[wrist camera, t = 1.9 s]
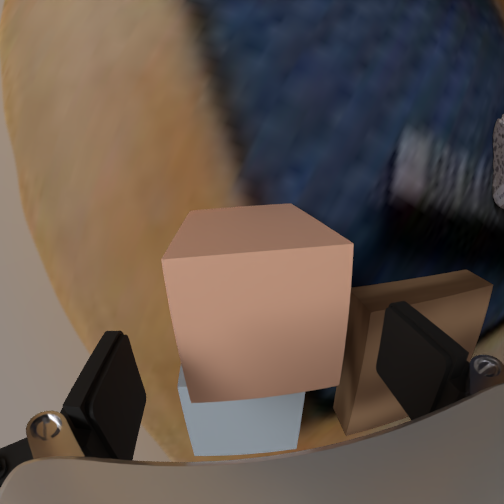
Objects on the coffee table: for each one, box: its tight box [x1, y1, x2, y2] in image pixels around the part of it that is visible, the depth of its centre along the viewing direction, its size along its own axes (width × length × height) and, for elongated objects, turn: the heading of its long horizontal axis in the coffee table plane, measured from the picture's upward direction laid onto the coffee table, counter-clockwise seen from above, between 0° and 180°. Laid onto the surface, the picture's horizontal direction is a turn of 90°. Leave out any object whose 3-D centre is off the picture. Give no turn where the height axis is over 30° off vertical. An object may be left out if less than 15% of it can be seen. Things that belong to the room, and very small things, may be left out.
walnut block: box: [333, 270, 493, 436], centre depth 21 cm, size 12×12×4 cm
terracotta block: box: [161, 204, 354, 403], centre depth 14 cm, size 6×6×9 cm
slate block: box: [178, 365, 305, 456], centre depth 20 cm, size 8×8×4 cm
